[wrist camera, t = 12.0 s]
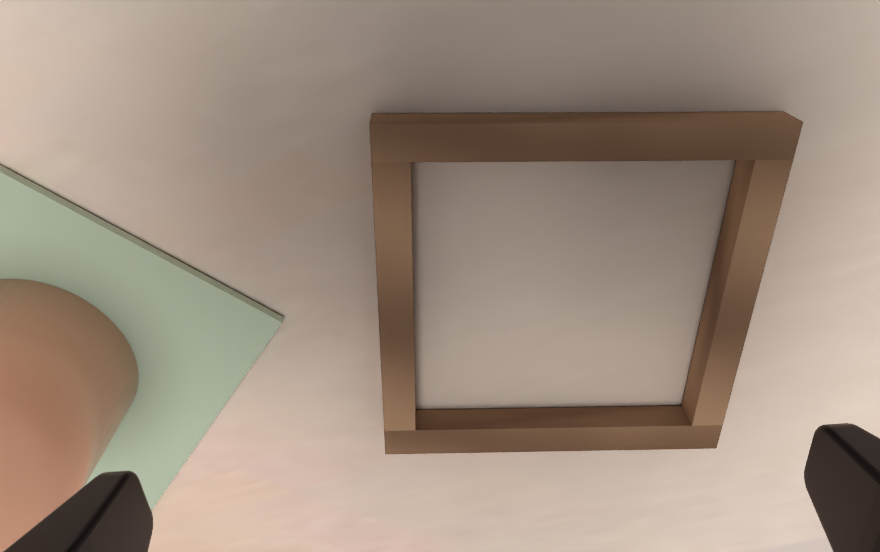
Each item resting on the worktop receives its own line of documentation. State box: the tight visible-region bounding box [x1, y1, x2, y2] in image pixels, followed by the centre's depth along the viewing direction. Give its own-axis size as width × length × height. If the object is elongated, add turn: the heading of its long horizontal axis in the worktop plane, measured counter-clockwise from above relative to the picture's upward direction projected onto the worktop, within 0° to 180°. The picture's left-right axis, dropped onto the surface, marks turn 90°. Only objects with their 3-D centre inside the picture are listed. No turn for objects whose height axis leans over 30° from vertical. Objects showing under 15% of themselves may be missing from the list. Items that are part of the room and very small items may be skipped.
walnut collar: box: [370, 112, 803, 454], centre depth 20 cm, size 11×11×1 cm
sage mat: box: [0, 165, 284, 510], centre depth 21 cm, size 11×11×1 cm
